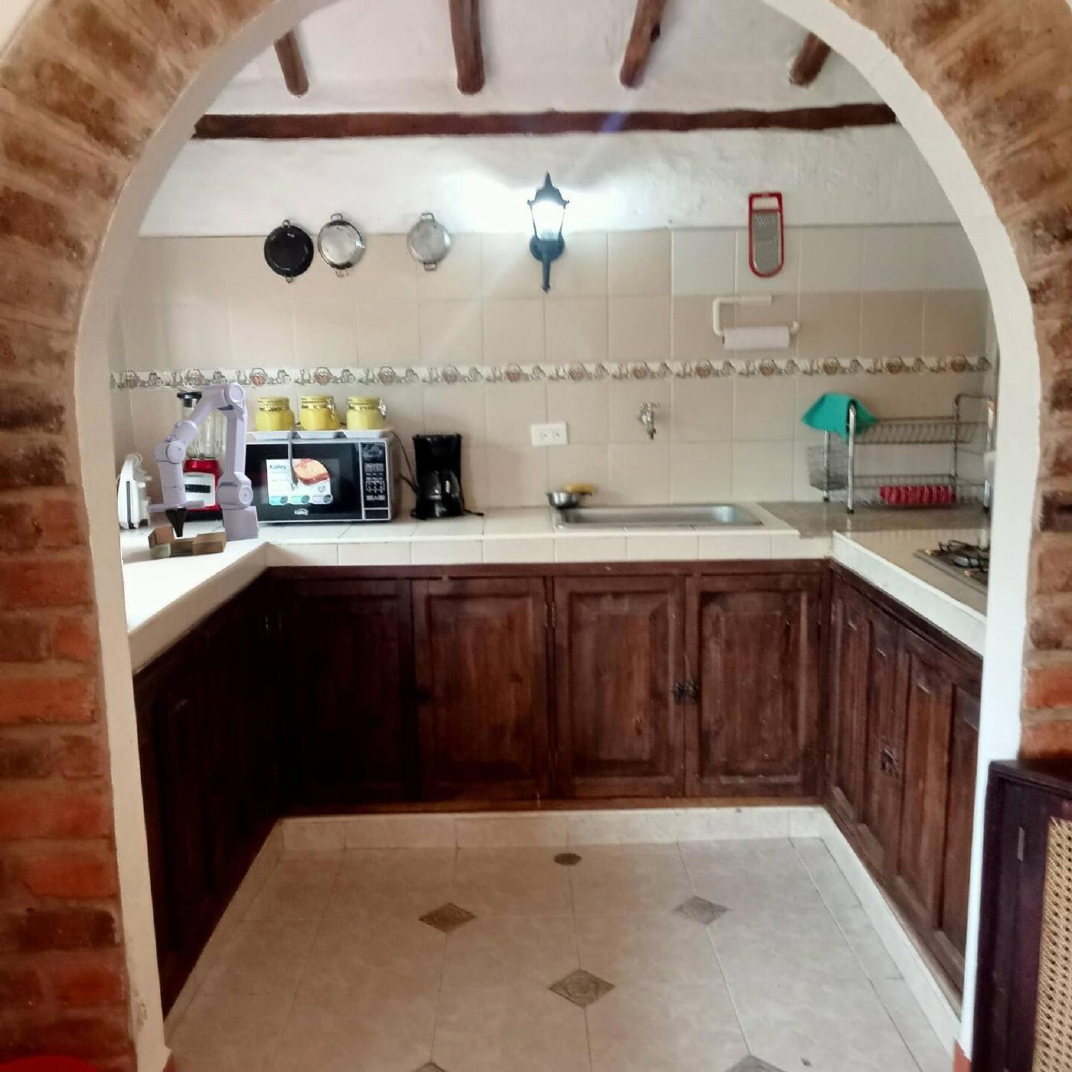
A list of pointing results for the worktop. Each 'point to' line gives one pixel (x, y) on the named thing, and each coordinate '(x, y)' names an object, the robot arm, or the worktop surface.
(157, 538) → the block
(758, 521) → the worktop surface
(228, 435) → the robot arm
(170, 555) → the board
